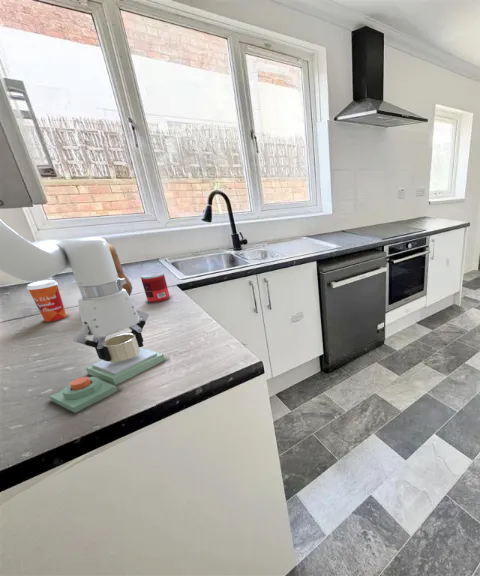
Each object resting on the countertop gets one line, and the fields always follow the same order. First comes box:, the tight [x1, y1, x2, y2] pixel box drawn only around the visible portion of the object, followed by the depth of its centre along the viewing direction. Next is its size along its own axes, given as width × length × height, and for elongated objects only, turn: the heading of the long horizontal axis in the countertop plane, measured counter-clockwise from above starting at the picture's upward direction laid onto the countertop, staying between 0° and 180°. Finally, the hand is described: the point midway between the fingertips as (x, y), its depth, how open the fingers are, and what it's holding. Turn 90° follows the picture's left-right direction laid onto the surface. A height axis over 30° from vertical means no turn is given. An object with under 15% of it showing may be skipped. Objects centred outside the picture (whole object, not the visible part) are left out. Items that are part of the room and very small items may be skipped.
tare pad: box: [49, 376, 118, 414], centre depth 71 cm, size 10×8×3 cm
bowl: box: [104, 333, 140, 362], centre depth 81 cm, size 7×7×4 cm
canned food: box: [140, 271, 170, 303], centre depth 129 cm, size 8×8×11 cm
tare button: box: [69, 376, 91, 391], centre depth 70 cm, size 3×3×2 cm
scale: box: [85, 347, 166, 386], centre depth 82 cm, size 12×12×3 cm
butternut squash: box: [107, 242, 133, 297], centre depth 123 cm, size 14×13×25 cm
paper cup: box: [26, 279, 67, 323], centre depth 111 cm, size 8×8×14 cm
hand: (123, 352), depth 81 cm, fingers closed on bowl, 6 cm apart
